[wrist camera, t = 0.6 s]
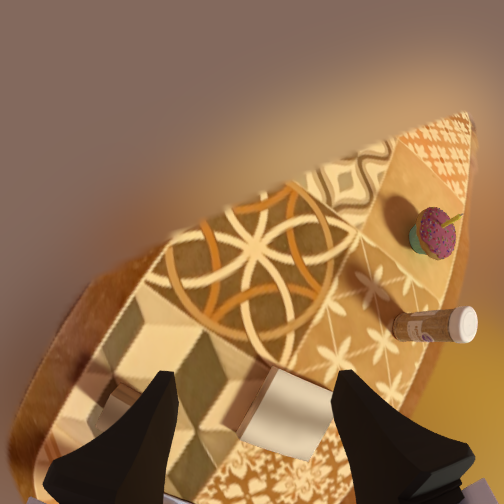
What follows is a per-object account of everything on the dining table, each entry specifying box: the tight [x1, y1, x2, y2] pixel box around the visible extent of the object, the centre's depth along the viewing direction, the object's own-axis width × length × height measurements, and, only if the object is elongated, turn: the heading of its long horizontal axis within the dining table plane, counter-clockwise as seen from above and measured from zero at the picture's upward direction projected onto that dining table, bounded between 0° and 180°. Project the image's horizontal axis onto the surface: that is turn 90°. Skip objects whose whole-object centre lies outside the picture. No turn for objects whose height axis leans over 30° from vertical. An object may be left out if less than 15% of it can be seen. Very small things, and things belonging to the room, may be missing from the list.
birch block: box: [236, 366, 333, 462], centre depth 33 cm, size 10×10×3 cm
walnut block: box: [95, 383, 141, 432], centre depth 27 cm, size 4×4×6 cm
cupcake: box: [409, 207, 463, 260], centre depth 39 cm, size 9×8×12 cm
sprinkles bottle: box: [393, 306, 477, 343], centre depth 35 cm, size 5×5×13 cm
